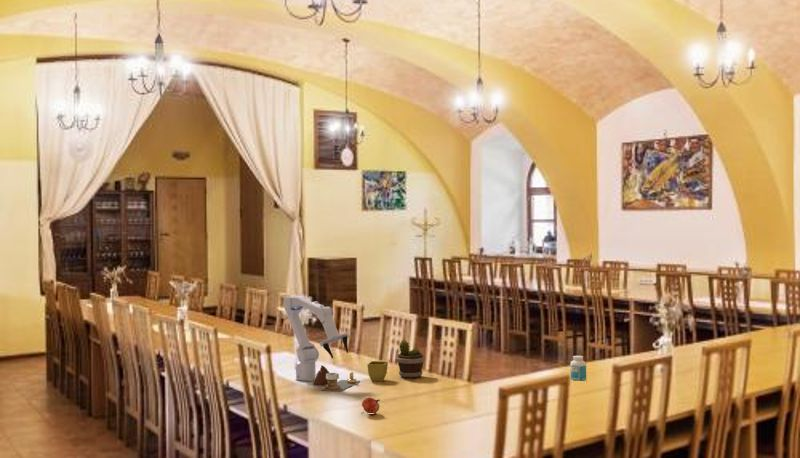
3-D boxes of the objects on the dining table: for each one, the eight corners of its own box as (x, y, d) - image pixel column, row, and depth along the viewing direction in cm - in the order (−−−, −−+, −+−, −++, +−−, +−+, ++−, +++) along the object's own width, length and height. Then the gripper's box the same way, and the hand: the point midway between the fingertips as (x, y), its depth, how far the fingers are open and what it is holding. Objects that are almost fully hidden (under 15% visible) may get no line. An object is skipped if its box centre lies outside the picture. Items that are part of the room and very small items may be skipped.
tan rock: (322, 388, 379) (322, 377, 379) (328, 385, 386) (328, 374, 386) (336, 389, 377) (336, 378, 377) (342, 386, 384) (342, 375, 384)
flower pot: (384, 382, 394) (384, 364, 394) (367, 382, 396) (367, 364, 396) (388, 379, 403) (388, 361, 403) (371, 378, 405) (371, 361, 405)
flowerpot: (429, 375, 411) (429, 336, 411) (417, 381, 397) (417, 340, 397) (404, 373, 418) (403, 335, 417) (391, 378, 404) (390, 339, 403)
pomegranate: (361, 422, 327) (379, 408, 324) (352, 406, 329) (370, 393, 326) (369, 419, 334) (387, 406, 331) (360, 404, 336) (378, 391, 333)
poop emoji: (317, 386, 387) (317, 367, 387) (310, 383, 395) (310, 364, 394) (336, 384, 392) (336, 365, 391) (329, 381, 399) (329, 363, 399)
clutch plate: (324, 379, 380) (324, 374, 380) (329, 377, 385) (329, 372, 385) (335, 379, 378) (335, 375, 378) (340, 377, 383) (340, 373, 383)
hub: (345, 383, 392) (345, 373, 392) (349, 381, 396) (349, 371, 396) (354, 383, 391) (354, 373, 390) (357, 381, 395) (357, 371, 395)
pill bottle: (585, 382, 388) (585, 355, 388) (587, 385, 381) (587, 357, 381) (569, 382, 389) (569, 355, 389) (571, 385, 382) (571, 357, 382)
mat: (321, 390, 378) (321, 389, 378) (341, 380, 401) (341, 379, 401) (340, 391, 375) (340, 390, 375) (360, 381, 397) (360, 380, 397)
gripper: (316, 332, 386) (325, 358, 381) (344, 322, 389) (354, 347, 384) (316, 336, 392) (326, 361, 388) (344, 326, 395) (354, 351, 391)
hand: (340, 355), depth 386 cm, fingers open, 7 cm apart
